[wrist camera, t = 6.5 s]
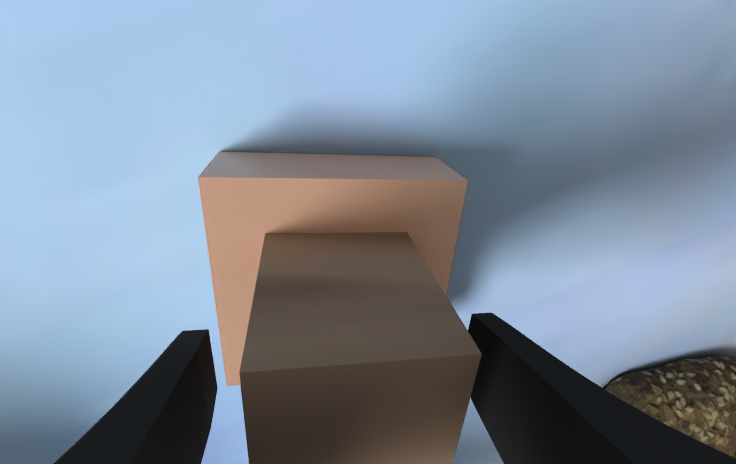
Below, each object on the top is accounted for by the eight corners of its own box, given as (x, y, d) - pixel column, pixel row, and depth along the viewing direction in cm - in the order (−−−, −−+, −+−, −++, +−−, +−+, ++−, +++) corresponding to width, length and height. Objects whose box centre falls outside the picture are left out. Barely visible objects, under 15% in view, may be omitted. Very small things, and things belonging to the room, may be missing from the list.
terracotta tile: (412, 320, 18) (432, 368, 15) (238, 331, 16) (226, 386, 13) (436, 157, 14) (468, 180, 12) (218, 151, 13) (198, 177, 10)
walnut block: (393, 338, 14) (444, 492, 9) (271, 346, 13) (255, 520, 8) (406, 232, 12) (481, 353, 7) (265, 233, 11) (239, 373, 6)
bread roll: (602, 355, 22) (680, 432, 17) (765, 341, 24) (870, 405, 20) (544, 485, 27) (592, 568, 23) (681, 463, 30) (749, 535, 25)
